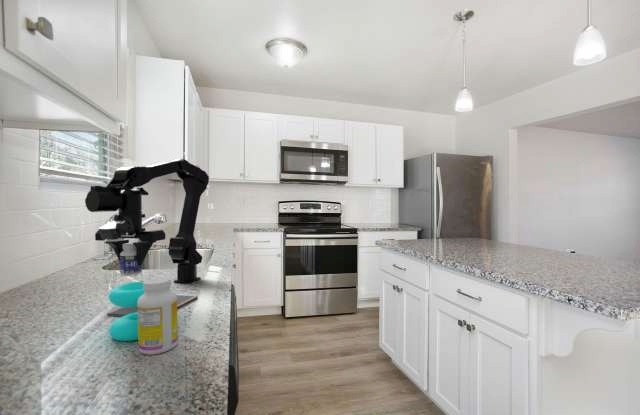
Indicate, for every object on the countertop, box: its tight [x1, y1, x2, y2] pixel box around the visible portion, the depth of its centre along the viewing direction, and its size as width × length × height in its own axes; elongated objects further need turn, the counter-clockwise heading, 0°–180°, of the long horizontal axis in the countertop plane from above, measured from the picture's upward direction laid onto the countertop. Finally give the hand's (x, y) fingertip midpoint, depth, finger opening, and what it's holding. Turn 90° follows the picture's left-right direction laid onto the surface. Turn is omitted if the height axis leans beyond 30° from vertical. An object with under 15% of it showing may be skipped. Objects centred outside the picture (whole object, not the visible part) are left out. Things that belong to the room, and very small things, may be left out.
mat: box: [106, 294, 199, 318], centre depth 81 cm, size 16×14×1 cm
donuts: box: [108, 280, 145, 342], centre depth 65 cm, size 10×10×10 cm
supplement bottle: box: [137, 277, 179, 356], centre depth 58 cm, size 7×7×13 cm
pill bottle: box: [119, 242, 143, 277], centre depth 88 cm, size 5×5×9 cm
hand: (131, 265), depth 88 cm, fingers closed on pill bottle, 5 cm apart
